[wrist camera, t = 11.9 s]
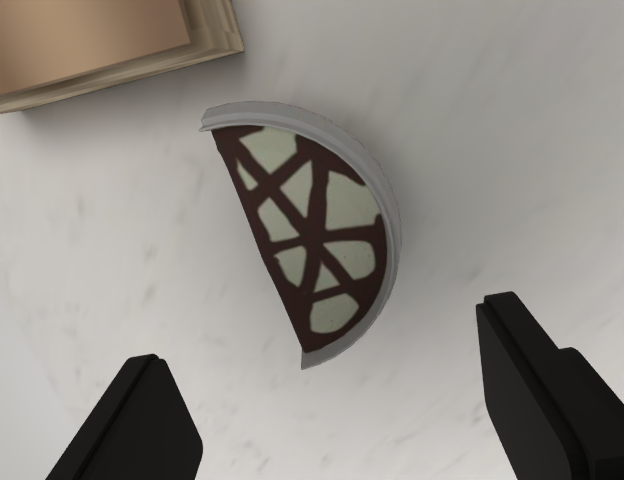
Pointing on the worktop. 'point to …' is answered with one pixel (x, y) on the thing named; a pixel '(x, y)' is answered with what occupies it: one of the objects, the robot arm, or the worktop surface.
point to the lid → (83, 37)
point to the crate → (209, 45)
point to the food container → (313, 218)
